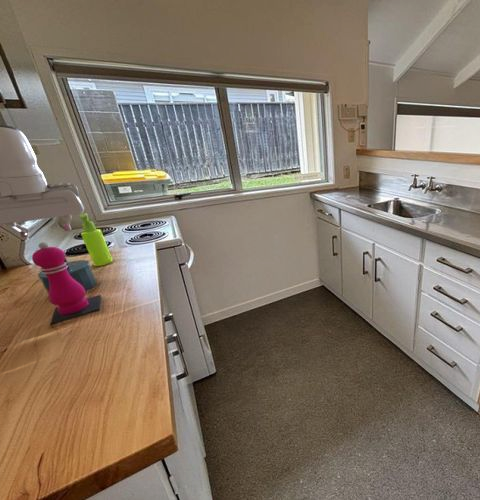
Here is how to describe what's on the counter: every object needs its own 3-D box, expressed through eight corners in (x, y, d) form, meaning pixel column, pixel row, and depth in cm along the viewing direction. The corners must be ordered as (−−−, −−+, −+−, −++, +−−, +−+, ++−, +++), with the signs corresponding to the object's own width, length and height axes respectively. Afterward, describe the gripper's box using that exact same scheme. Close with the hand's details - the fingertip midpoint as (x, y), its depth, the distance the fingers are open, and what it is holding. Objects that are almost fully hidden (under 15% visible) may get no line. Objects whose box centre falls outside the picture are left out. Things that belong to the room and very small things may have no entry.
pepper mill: (65, 304, 82) (32, 240, 74) (95, 299, 84) (66, 236, 76) (51, 318, 75) (13, 249, 68) (84, 312, 78) (51, 244, 70)
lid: (35, 284, 81) (27, 270, 79) (43, 271, 90) (36, 257, 88) (89, 271, 88) (83, 258, 86) (91, 260, 97) (86, 247, 95)
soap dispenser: (94, 268, 107) (72, 217, 100) (94, 262, 112) (73, 214, 105) (113, 263, 111) (93, 214, 103) (112, 258, 116) (93, 211, 108)
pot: (47, 304, 84) (36, 282, 81) (53, 289, 93) (43, 269, 90) (96, 291, 91) (87, 270, 88) (98, 278, 99) (89, 259, 96)
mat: (51, 326, 74) (50, 323, 73) (57, 310, 81) (55, 307, 81) (100, 311, 79) (99, 308, 79) (101, 297, 87) (100, 294, 86)
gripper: (76, 181, 87) (92, 224, 92) (-26, 190, 75) (-1, 238, 81) (74, 183, 82) (91, 228, 88) (-35, 193, 71) (-8, 244, 76)
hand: (46, 233), depth 84 cm, fingers open, 8 cm apart
